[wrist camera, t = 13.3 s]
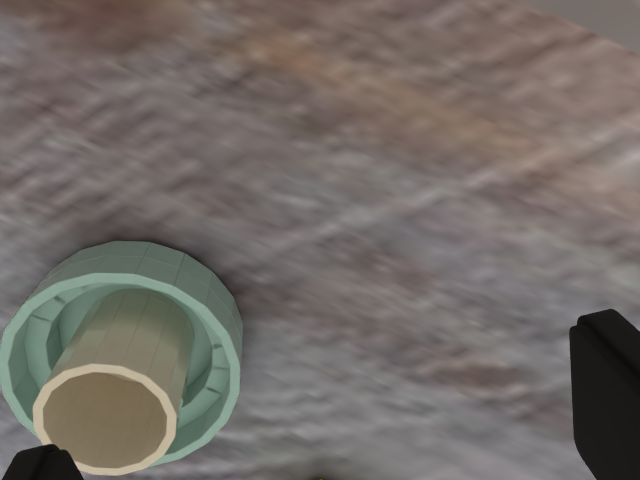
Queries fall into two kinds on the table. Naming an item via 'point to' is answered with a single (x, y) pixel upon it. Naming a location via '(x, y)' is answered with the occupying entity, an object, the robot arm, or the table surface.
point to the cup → (119, 384)
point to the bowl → (119, 274)
